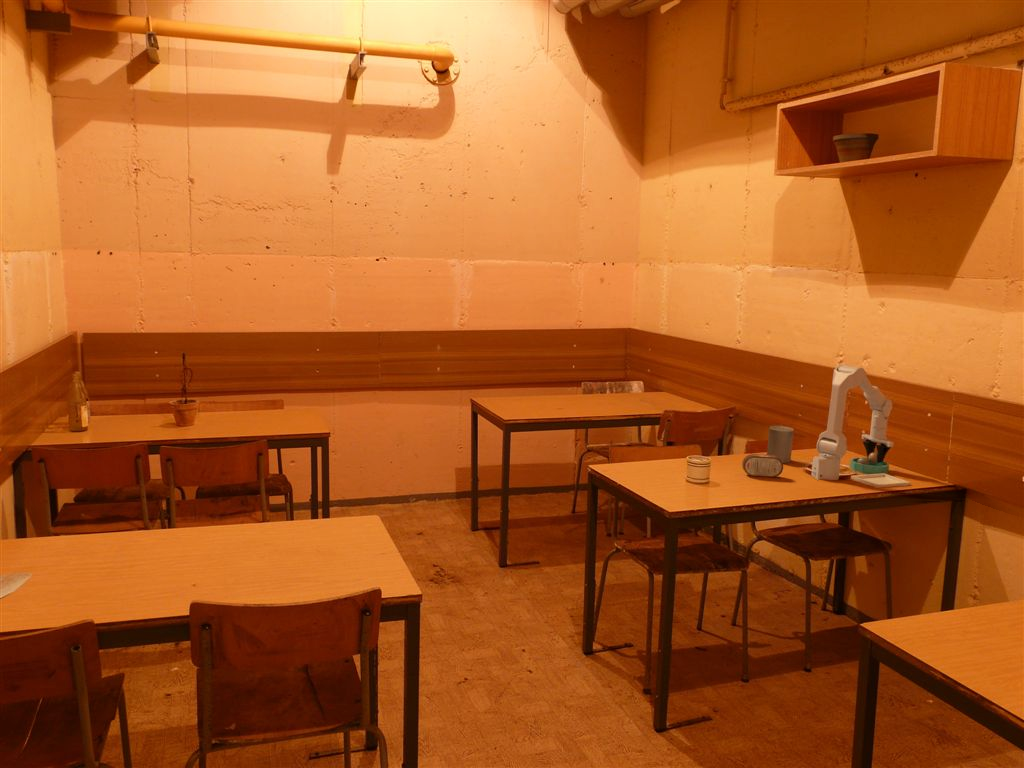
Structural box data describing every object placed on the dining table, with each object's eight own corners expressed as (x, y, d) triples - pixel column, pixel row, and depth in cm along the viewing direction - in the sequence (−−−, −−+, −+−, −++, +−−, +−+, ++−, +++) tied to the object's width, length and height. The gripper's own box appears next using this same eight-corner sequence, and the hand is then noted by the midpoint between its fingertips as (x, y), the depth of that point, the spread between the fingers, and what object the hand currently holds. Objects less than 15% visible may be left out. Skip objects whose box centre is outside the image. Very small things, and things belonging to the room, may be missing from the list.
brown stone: (873, 465, 325) (872, 453, 325) (865, 463, 330) (865, 451, 330) (884, 464, 326) (883, 452, 326) (876, 463, 331) (876, 451, 331)
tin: (781, 476, 316) (783, 455, 314) (783, 478, 313) (785, 457, 311) (741, 474, 317) (742, 452, 316) (742, 476, 314) (744, 454, 313)
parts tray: (876, 489, 302) (877, 485, 301) (850, 480, 314) (851, 475, 313) (910, 487, 307) (910, 482, 307) (883, 477, 319) (884, 473, 319)
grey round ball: (861, 468, 324) (859, 456, 326) (855, 470, 329) (854, 458, 330) (873, 468, 325) (871, 456, 326) (867, 470, 329) (865, 458, 331)
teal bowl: (859, 476, 321) (860, 466, 320) (843, 466, 335) (844, 457, 334) (894, 476, 321) (895, 466, 321) (877, 467, 335) (878, 458, 335)
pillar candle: (762, 457, 345) (765, 422, 343) (783, 457, 347) (786, 422, 345) (773, 463, 336) (776, 428, 333) (795, 463, 338) (798, 427, 335)
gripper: (900, 430, 321) (897, 464, 323) (872, 423, 334) (869, 455, 336) (886, 431, 318) (883, 465, 320) (859, 423, 332) (855, 456, 334)
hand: (875, 460), depth 328 cm, fingers closed on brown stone, 5 cm apart
